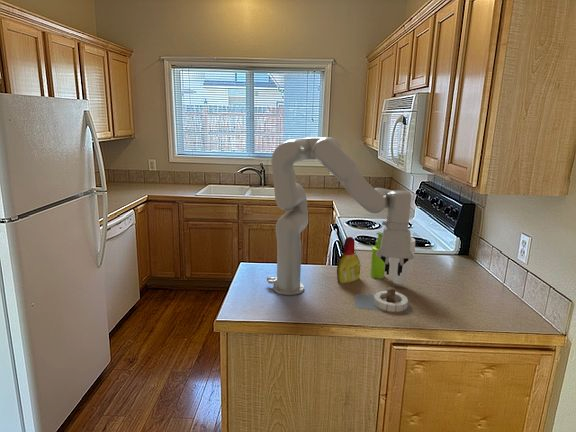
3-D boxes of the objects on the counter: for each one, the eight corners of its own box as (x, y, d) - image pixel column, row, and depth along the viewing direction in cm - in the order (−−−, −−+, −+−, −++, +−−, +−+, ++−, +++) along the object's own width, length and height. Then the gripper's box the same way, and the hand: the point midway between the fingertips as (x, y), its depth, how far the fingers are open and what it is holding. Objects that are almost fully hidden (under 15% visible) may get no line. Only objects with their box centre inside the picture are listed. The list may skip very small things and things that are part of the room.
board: (354, 310, 146) (354, 307, 146) (355, 295, 158) (355, 293, 157) (411, 316, 142) (411, 313, 142) (408, 301, 154) (408, 298, 154)
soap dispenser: (380, 280, 172) (383, 236, 167) (367, 275, 178) (370, 232, 172) (388, 277, 176) (392, 233, 171) (376, 272, 181) (379, 230, 176)
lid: (381, 306, 147) (383, 291, 145) (380, 299, 153) (382, 284, 151) (399, 308, 146) (401, 293, 144) (398, 300, 152) (399, 286, 150)
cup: (393, 295, 159) (398, 243, 153) (380, 284, 168) (384, 235, 163) (416, 292, 161) (421, 241, 156) (402, 282, 171) (407, 234, 166)
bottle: (341, 287, 165) (344, 241, 160) (331, 282, 170) (333, 237, 165) (362, 281, 171) (365, 236, 166) (352, 276, 176) (355, 232, 171)
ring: (374, 309, 145) (374, 303, 144) (373, 295, 156) (374, 289, 155) (408, 313, 142) (409, 306, 142) (405, 298, 154) (406, 292, 153)
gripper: (373, 226, 140) (370, 275, 144) (422, 230, 136) (417, 280, 141) (373, 221, 147) (370, 268, 151) (420, 224, 144) (415, 272, 148)
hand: (393, 273), depth 146 cm, fingers open, 3 cm apart
